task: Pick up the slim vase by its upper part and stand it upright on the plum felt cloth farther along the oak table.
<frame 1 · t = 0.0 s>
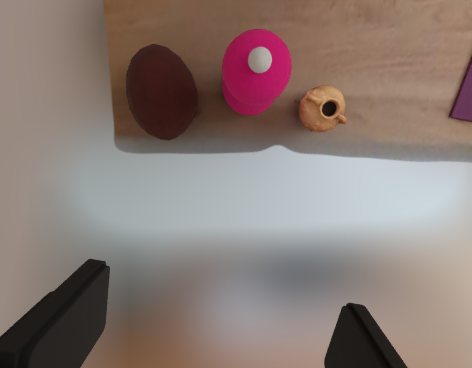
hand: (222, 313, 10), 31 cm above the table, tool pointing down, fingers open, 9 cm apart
pot: (311, 111, 38), on the table
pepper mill: (248, 91, 38), on the table
dark brown egg: (172, 97, 38), on the table
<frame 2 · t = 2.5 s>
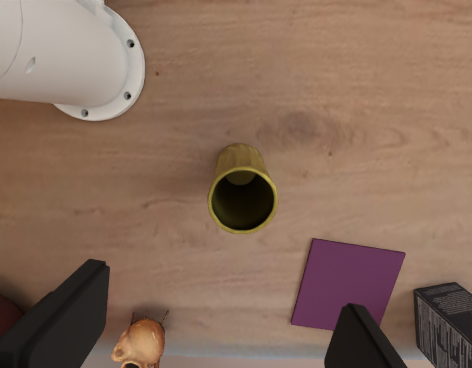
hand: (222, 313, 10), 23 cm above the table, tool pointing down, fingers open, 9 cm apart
vase: (240, 167, 32), on the table
small box: (435, 314, 38), on the table
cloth: (345, 288, 36), on the table
pot: (152, 319, 38), on the table
dark brown egg: (10, 310, 38), on the table
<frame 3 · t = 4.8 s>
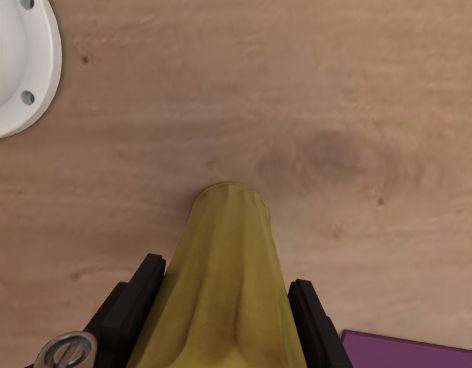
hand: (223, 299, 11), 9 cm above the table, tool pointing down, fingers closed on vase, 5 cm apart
vase: (229, 219, 20), on the table, touching gripper
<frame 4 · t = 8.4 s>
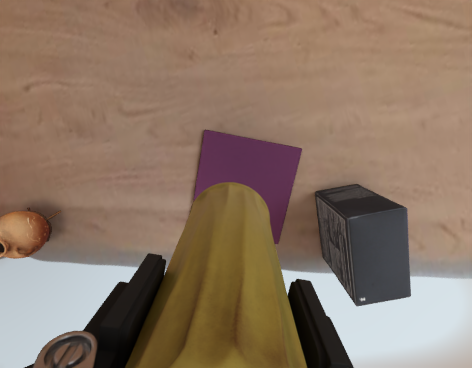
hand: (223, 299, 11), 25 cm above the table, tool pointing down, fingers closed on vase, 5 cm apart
vase: (229, 219, 19), point 16 cm above the table, touching gripper
small box: (340, 221, 36), on the table
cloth: (243, 189, 35), on the table
pot: (46, 220, 36), on the table
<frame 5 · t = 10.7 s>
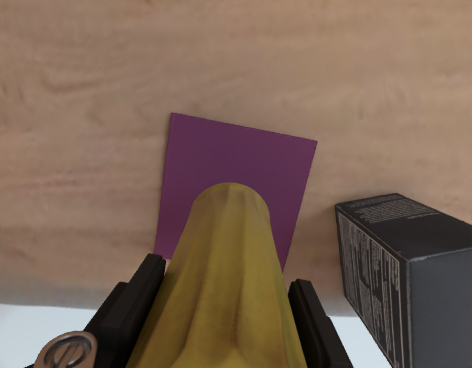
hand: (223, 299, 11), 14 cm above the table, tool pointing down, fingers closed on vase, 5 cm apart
vase: (229, 219, 19), point 5 cm above the table, touching gripper
small box: (369, 245, 25), on the table
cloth: (231, 200, 24), on the table
when the fingers open (9 cm above the table, at t = 12.3 s): vase stays where it is, resting on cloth.
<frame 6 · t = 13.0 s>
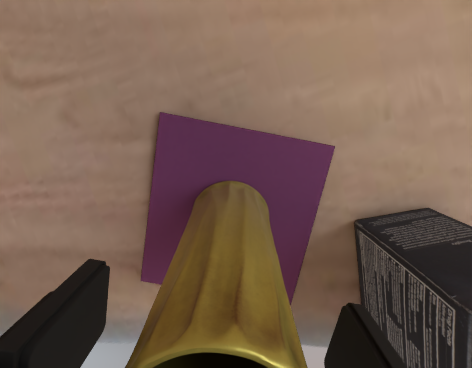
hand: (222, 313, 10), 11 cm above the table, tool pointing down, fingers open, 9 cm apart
vase: (230, 216, 20), resting on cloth
small box: (394, 268, 22), on the table
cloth: (231, 216, 20), on the table
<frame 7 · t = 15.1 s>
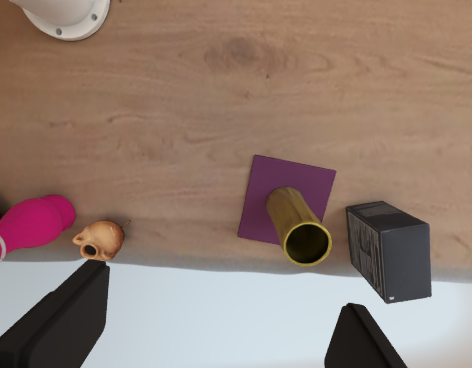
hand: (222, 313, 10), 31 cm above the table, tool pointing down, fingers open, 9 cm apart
vase: (284, 204, 41), resting on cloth
small box: (366, 232, 42), on the table
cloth: (284, 204, 41), on the table
pot: (116, 228, 43), on the table
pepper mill: (58, 212, 43), on the table
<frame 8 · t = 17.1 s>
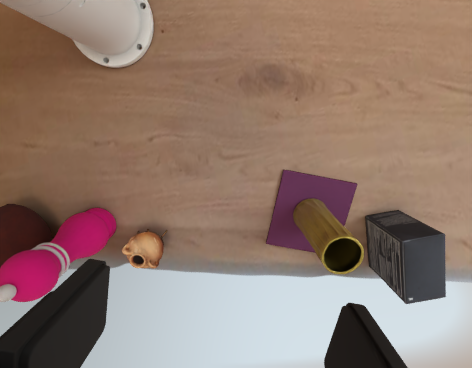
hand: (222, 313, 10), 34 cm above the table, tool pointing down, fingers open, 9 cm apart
vase: (309, 214, 45), resting on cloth
small box: (383, 238, 47), on the table
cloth: (309, 214, 45), on the table
pot: (153, 237, 47), on the table
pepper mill: (99, 223, 46), on the table
dark brown egg: (38, 227, 46), on the table
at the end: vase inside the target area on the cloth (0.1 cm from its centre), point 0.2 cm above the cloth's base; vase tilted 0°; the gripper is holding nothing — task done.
